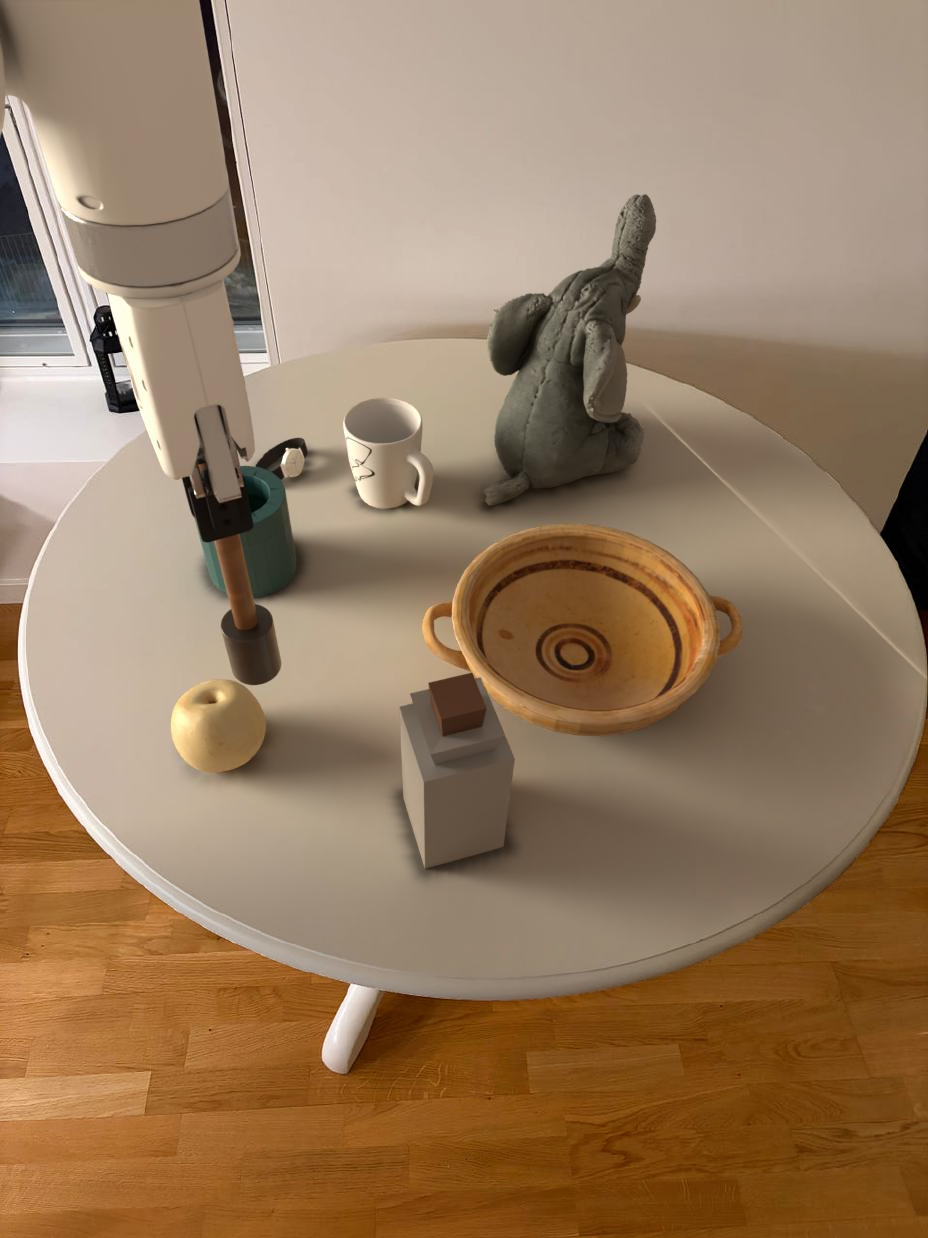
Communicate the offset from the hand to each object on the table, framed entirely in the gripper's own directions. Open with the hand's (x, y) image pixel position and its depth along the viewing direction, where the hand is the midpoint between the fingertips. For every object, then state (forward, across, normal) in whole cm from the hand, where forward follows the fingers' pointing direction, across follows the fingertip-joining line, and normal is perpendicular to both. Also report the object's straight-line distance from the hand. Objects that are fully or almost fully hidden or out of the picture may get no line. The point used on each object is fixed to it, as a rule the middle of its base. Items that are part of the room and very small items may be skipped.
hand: (222, 520), depth 56 cm
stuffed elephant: (+30, -30, +44) cm, 61 cm away
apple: (+30, -5, -4) cm, 31 cm away
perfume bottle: (+30, +10, +12) cm, 34 cm away
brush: (+15, 0, 0) cm, 15 cm away
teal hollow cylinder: (+30, -26, +5) cm, 40 cm away
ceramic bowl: (+30, 0, +30) cm, 42 cm away
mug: (+30, -30, +23) cm, 49 cm away
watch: (+30, -40, +13) cm, 52 cm away
